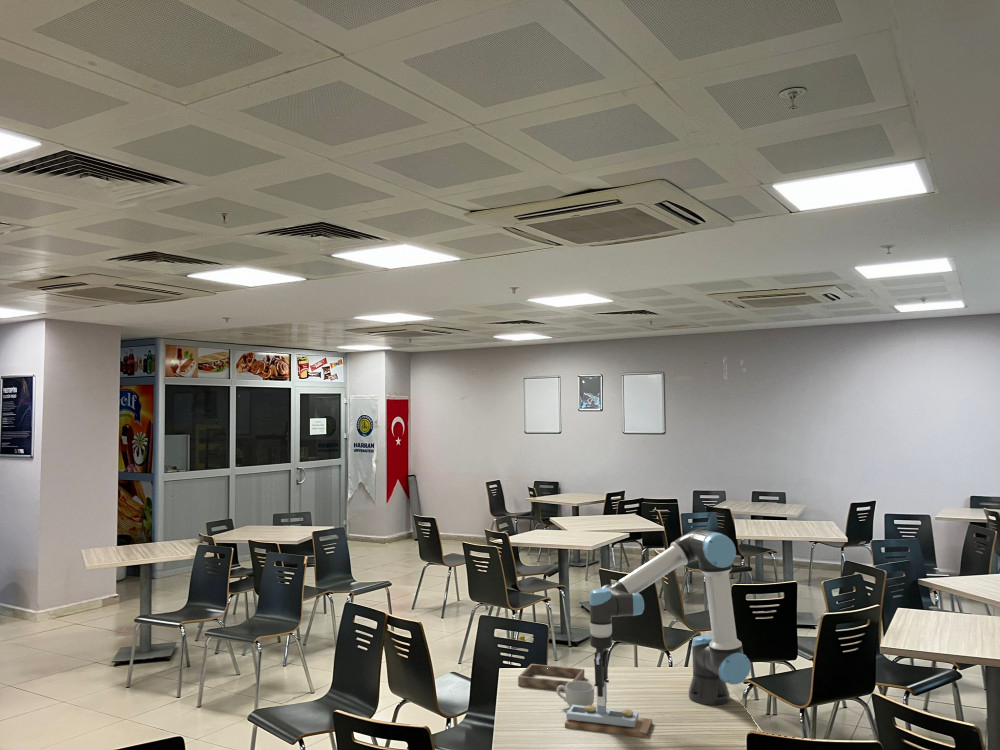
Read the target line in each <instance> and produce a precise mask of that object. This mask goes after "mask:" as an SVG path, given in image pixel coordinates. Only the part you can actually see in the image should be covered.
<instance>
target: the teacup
mask: <svg viewBox="0 0 1000 750" xmlns="http://www.w3.org/2000/svg"><path fill="white" fill-rule="evenodd" d="M595 687H596V686H594V684H593V683H591V682H589V681H585V680H582V681H573V680H572V681H571V682H568V683H567V684H566V687H565V686H563V685H560V686H558V687H557V690H556V694H557V695H558V697H559V698H561V699H563V701H564V702H565V703H567V705H568V706H569V707H571V706H572V705H581V706H587V705H592V706H593V705H594V703H595V702H594V701H595ZM560 688H563V689H564V691H563V692H564V694H565V696H564V695H563V694H561V692H560V690H559V689H560Z"/></svg>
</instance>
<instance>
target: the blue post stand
mask: <svg viewBox="0 0 1000 750" xmlns="http://www.w3.org/2000/svg"><path fill="white" fill-rule="evenodd" d="M604 686H605V706H598V705H597V704H596V706H595V707H596V711H594V712H593V713H588V712H587V711H585V710H584V707H585V706H581V705H572V706H569V709H568V710H567V712H566V720H567V719H569V720H578V721H586V722H594V723H603V724H611V725H619V726H628V727H635V725H636V722H637V720H638V718H640V717H639V711H634V710H632V711H633V715H632V716H630V717H624V715H622V714H621V711H622V710H623V709H617V708H616V709H615V708H607V703H606V681H604Z"/></svg>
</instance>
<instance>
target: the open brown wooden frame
mask: <svg viewBox="0 0 1000 750" xmlns="http://www.w3.org/2000/svg"><path fill="white" fill-rule="evenodd" d="M547 668H548V669H547ZM533 674H537V675H547V676H557V677H564V678H565V677H568V678H573V680H572V681H584V679H585V668H579V667H577V668H575V667H568V666H566V667H565V666H555V665H547V664H538V663H537V664H536V663H531V664H529V665H528V666H527V667H526V668H525V669H524V670H523V671H522V673H520V674H519V676H518V677H517V686H518V687H527V688H528V687H529V688H537V689H545V688H548V689H547V690H554V689H555V690H556V691H557V687H558V686H560V685H563V686H565V687H566V684H567V683H568V682H571V681H570V680H562V679H552V678H542V677H541V678H540V677H532V675H533ZM559 691H563V692H565V691H564V689H563V688H560V689H559Z"/></svg>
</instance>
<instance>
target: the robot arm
mask: <svg viewBox="0 0 1000 750" xmlns="http://www.w3.org/2000/svg"><path fill="white" fill-rule="evenodd" d="M736 557H737V550H736V546H735V543H734V542H733V540H732V539H731V538H729V537H728V536H727V535H725V534H723V533H721V532H717V531H711V530H707V529H700V528H699V529H695V530H691V531H689V532H688V533H685V534H683V535H682V536H680V537H678V538H677V539H675V540H674V541H672V542H671V543H670V545H669V548H666V549H665V550H664V551H662V552H660V553H659V554H657V555H656V556H655V557H653V558H651V559H650V560H649V561H647V562H645V563H643V564H642V565H641V566H639V567H637V568H636V569H634V570H633V571H632V572H630V573H628V574H627V575H626V576H624V577H622V578H620V579H619V580H618V581H616V582H615V583H612V584H605V585H603V586H601V588H593V589H592V590H590V594H589V618H590V619H589V621H590V623H589V624H588V627H590V631H589V633H590V634H591V635H589V637H590V640H589V641H590V646H591V647H592V648H594V649H595V652H594V658H593V664H594V682H595V683H594V684H593V685H594V687H596V706H597V705H598V706H605V686H604V681H606V704H607V702H608V693H607V692H608V688H607V687H608V685H607V683H610V680H609V675H608V674H609V673H608V672H609V669H608V667H609V649H610V648H612V646H613V636H612V634H613V625H612V623H613V620H612V618H615V617H616V618H618V617H631V616H632V617H635V616H640V615H642V614H643V613H644V610H645V600H644V598H643V596H642V594H640V592H642V591H643V590H645V589H646V588H648V587H649V586H651V585H653V584H654V583H656V582H657V581H659V580H660V579H662V578H663V577H665V576H666V575H668V574H669V573H671V572H672V571H674V570H675V569H677V568H678V567H680V566H681V565H684V566H687V565H688V564H689V563H692V562H695V561H698V567H699V572H701V573H702V574H703V576H704V581H705V589H706V597H707V605H708V612H709V613H708V614H709V618H710V619H709V622H710V627H711V628H710V629H711V635H708V634H707V635H697V636H695V637H693V638H692V643H691V648H692V651H691V652H692V678H691V681H690V685H689V688H688V697H689V699H690V700H691V701H693V702H695V703H698V704H702V705H710V706H716V705H717V706H718V705H724V704H727V703H729V702H730V701H731V696H730V695H731V694H730V691H729V688H728V685H739V684H741V683H743V682H744V681H745V680H746V679H747V677H748V676H749V674H750V673H751V662H750V659H749V658H748V656H747V655H746V654H744V650H743V644H742V641H741V640H739V639H738V638H737V637H738V636H737V629H736V622H735V621H736V620H735V614H734V605H733V597H732V592H731V591H732V590H731V582H730V572H731V571H732V570H733V565H732V564H733V562H734V560H735V559H736ZM727 684H728V685H727Z"/></svg>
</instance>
